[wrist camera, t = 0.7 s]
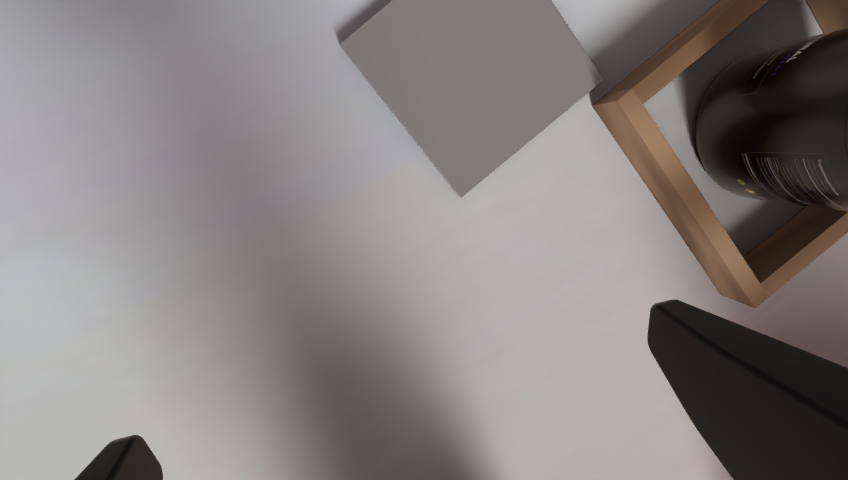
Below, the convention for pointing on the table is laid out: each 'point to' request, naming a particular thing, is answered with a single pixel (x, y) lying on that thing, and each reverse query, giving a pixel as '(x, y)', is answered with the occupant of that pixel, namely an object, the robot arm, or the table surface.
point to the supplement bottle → (781, 124)
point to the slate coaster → (472, 76)
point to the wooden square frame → (675, 190)
